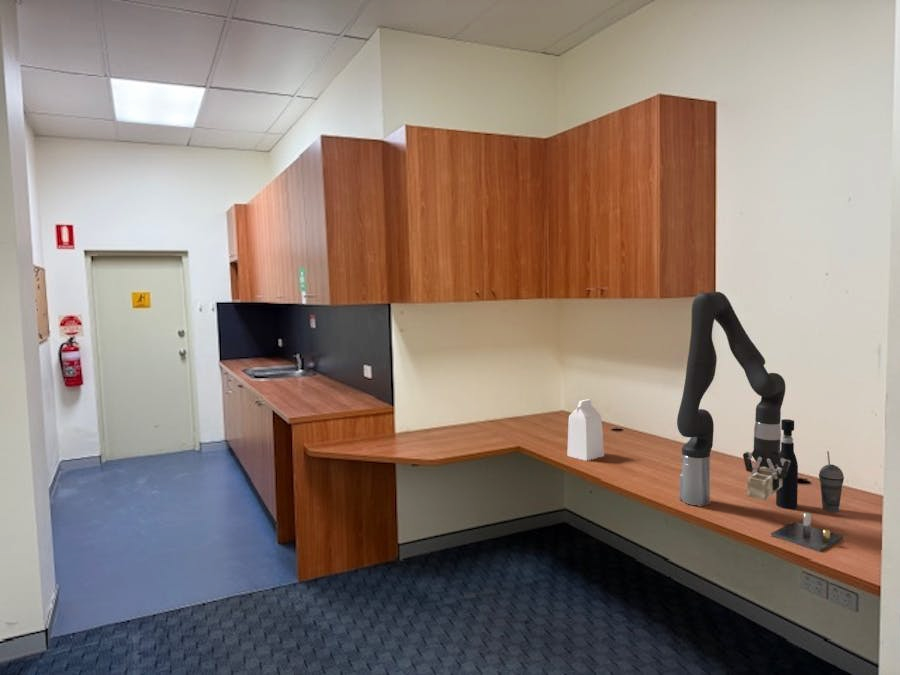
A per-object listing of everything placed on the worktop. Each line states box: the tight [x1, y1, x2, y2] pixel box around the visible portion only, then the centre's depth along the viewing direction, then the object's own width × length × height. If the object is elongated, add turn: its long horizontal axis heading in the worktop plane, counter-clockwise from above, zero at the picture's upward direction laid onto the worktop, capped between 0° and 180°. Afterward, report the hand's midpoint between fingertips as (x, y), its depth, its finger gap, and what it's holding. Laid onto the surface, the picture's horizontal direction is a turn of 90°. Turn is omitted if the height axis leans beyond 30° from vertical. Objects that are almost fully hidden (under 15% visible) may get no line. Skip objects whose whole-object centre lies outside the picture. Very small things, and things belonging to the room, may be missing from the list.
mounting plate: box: [770, 511, 844, 553], centre depth 180 cm, size 14×14×8 cm
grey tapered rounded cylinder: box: [818, 450, 845, 513], centre depth 201 cm, size 7×7×20 cm
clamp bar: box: [746, 467, 783, 501], centre depth 191 cm, size 17×5×6 cm, turn 134°
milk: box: [566, 398, 605, 462], centre depth 274 cm, size 12×12×26 cm
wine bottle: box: [775, 419, 799, 510], centre depth 205 cm, size 6×6×30 cm
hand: (765, 487), depth 191 cm, fingers closed on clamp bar, 5 cm apart
